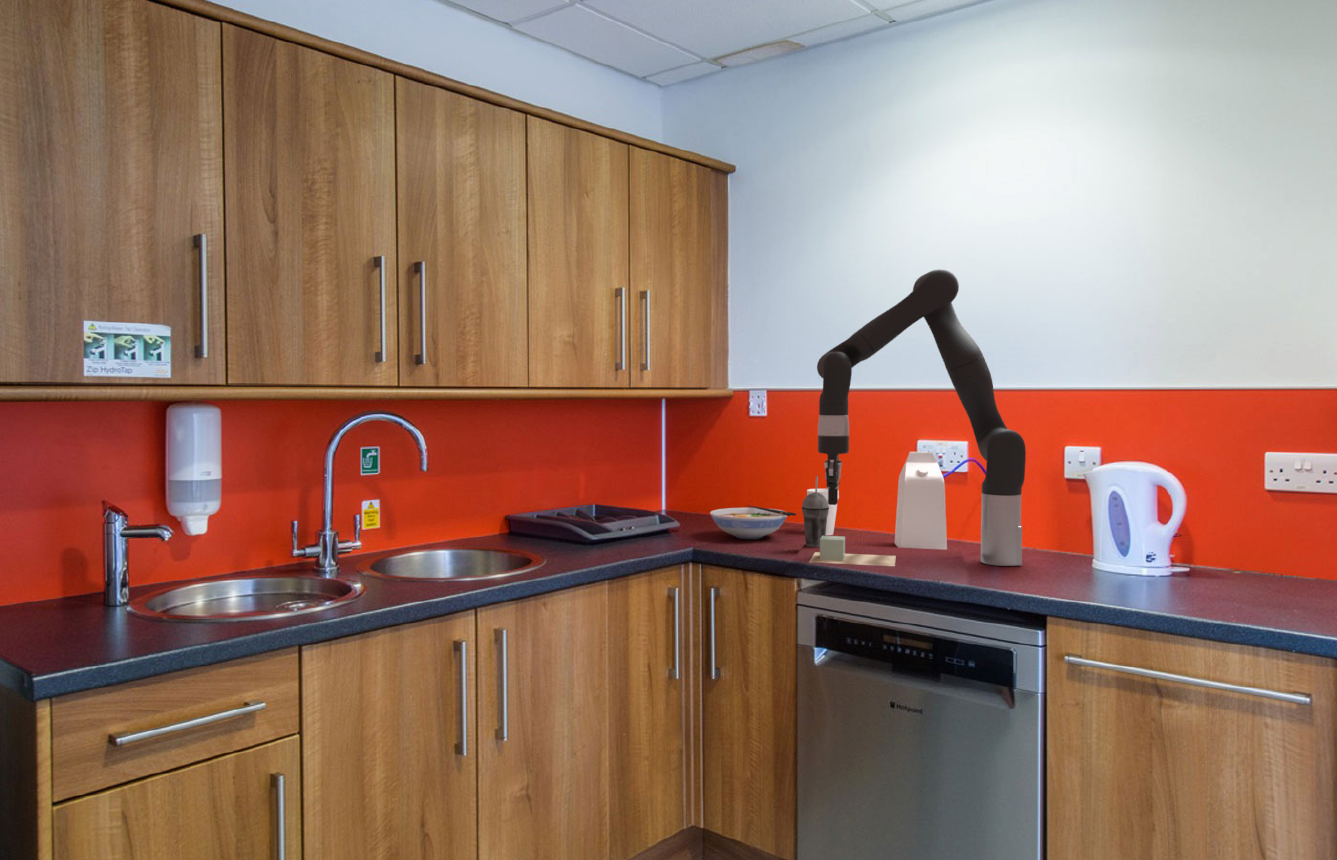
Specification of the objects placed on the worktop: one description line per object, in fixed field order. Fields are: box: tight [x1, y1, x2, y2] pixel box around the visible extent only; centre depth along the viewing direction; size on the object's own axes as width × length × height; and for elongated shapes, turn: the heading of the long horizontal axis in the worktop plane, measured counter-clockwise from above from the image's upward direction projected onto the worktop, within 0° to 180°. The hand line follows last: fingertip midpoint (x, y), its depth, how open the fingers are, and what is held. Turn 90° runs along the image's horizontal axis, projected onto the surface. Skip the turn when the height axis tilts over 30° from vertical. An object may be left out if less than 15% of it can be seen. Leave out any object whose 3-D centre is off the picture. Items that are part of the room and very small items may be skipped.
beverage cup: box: [801, 475, 829, 548], centre depth 241 cm, size 7×7×20 cm
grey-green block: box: [819, 535, 846, 561], centre depth 223 cm, size 6×6×5 cm
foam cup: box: [806, 488, 840, 536], centre depth 271 cm, size 10×9×13 cm
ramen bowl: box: [709, 504, 797, 540], centre depth 264 cm, size 25×23×8 cm
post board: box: [808, 551, 897, 567], centre depth 222 cm, size 20×14×6 cm
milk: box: [894, 451, 948, 550], centre depth 247 cm, size 12×12×26 cm
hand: (832, 504), depth 223 cm, fingers closed
